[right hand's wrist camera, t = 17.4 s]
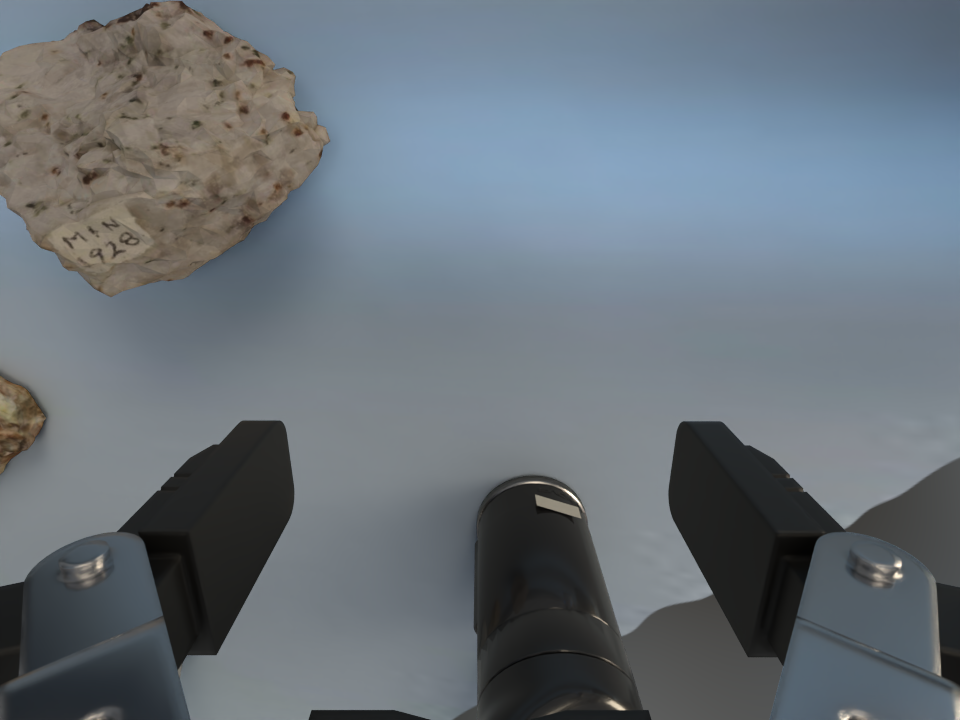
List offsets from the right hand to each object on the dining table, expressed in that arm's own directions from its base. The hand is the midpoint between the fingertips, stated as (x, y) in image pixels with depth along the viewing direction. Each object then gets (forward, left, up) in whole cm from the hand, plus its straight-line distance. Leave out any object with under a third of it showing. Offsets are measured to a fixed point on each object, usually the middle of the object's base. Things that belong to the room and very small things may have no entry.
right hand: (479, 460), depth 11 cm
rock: (-3, +20, -29) cm, 36 cm away
